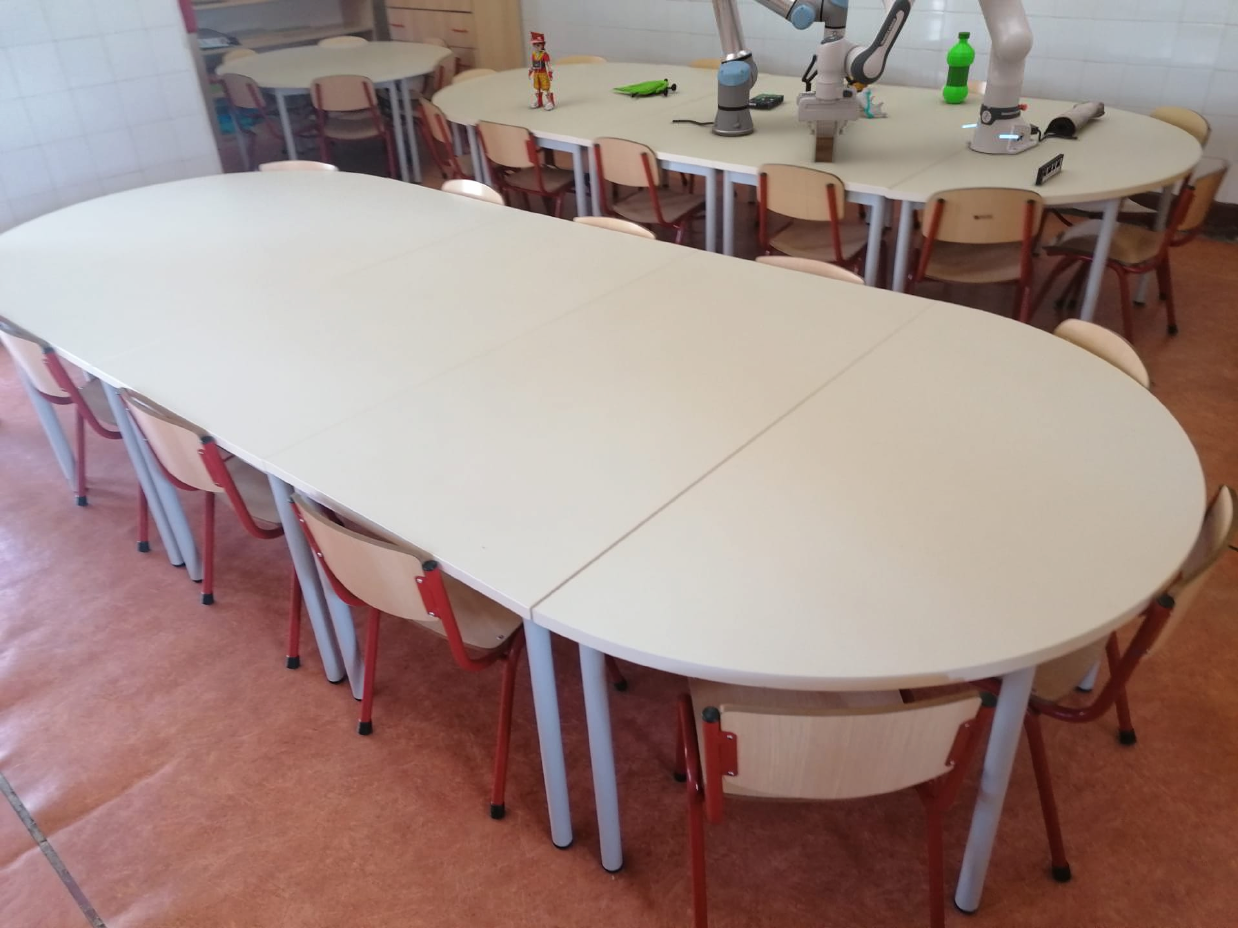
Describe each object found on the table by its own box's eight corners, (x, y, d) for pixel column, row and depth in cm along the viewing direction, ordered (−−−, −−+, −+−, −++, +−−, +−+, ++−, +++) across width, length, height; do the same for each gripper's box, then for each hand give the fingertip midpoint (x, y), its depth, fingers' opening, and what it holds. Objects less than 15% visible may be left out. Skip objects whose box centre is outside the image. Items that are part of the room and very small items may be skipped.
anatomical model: (849, 87, 348) (874, 80, 347) (851, 114, 354) (876, 107, 353) (861, 96, 336) (887, 89, 335) (863, 124, 342) (889, 117, 341)
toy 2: (686, 85, 398) (631, 84, 414) (685, 72, 395) (629, 72, 411) (651, 104, 381) (596, 103, 397) (650, 92, 378) (594, 91, 394)
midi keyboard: (1039, 185, 269) (1043, 168, 266) (1035, 184, 270) (1038, 168, 267) (1060, 170, 279) (1064, 154, 277) (1056, 169, 280) (1060, 153, 277)
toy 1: (525, 109, 381) (517, 32, 364) (534, 104, 388) (527, 28, 371) (550, 110, 377) (543, 32, 360) (559, 105, 384) (553, 28, 367)
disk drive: (769, 111, 359) (783, 102, 369) (769, 103, 357) (784, 94, 367) (745, 108, 363) (760, 100, 373) (745, 101, 362) (761, 92, 372)
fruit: (843, 83, 375) (855, 65, 372) (845, 86, 383) (857, 69, 380) (859, 94, 374) (871, 76, 371) (861, 97, 382) (873, 80, 379)
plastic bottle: (973, 101, 354) (984, 32, 339) (955, 106, 349) (966, 36, 335) (952, 97, 361) (962, 29, 346) (934, 102, 356) (944, 33, 342)
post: (820, 120, 343) (821, 97, 339) (835, 120, 342) (836, 97, 337) (814, 162, 300) (816, 137, 296) (831, 162, 299) (834, 137, 294)
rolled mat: (1071, 106, 328) (1096, 88, 320) (1085, 127, 329) (1110, 110, 321) (1039, 128, 311) (1065, 111, 303) (1053, 150, 312) (1080, 133, 303)
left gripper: (797, 42, 321) (792, 104, 333) (869, 43, 316) (861, 106, 329) (799, 38, 327) (794, 99, 339) (869, 39, 322) (861, 101, 335)
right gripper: (796, 94, 291) (794, 137, 299) (861, 92, 287) (857, 136, 295) (797, 89, 296) (795, 132, 304) (861, 87, 292) (857, 131, 300)
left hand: (827, 102), depth 334 cm, fingers open, 13 cm apart
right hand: (826, 134), depth 300 cm, fingers open, 8 cm apart
